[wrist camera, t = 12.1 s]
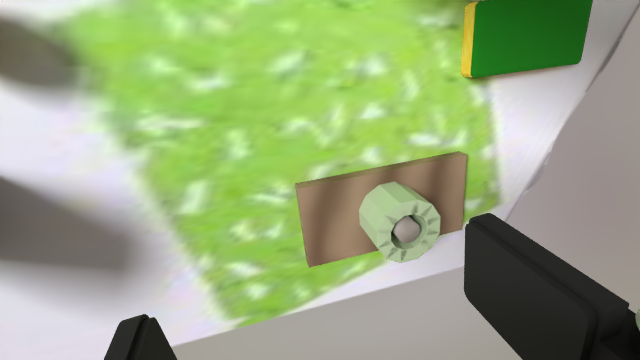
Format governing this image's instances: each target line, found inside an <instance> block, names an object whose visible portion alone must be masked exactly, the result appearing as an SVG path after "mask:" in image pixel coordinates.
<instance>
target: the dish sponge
mask: <svg viewBox="0 0 640 360" xmlns="http://www.w3.org/2000/svg"><path fill="white" fill-rule="evenodd" d="M592 1H593V0H484V1H479V2H473V3H469V4H468V5H467V6H466V7H465V19H464V35H463V50H462V65H461V74H462V76H463V77H473V78H477V77H484V76H491V75H499V74H506V73H513V72H521V71H528V70H535V69H543V68H550V67H557V66H565V65H572V64H578V63H579V62H580V61H581V57H582V52H583V47H584V42H585V37H586V32H587V27H588V21H589V16H590V11H591V6H592Z"/></svg>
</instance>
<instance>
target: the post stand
mask: <svg viewBox="0 0 640 360" xmlns="http://www.w3.org/2000/svg"><path fill="white" fill-rule="evenodd" d="M466 162H467V155H466V154H464V153H461V152H454V153H449V154H444V155H438V156H433V157H428V158H423V159H418V160H413V161H408V162H403V163H398V164H393V165H388V166H383V167H378V168H373V169H367V170H362V171H357V172H352V173H347V174H342V175H337V176H332V177H327V178H322V179H317V180H312V181H307V182H302V183H296V184H295V187H296V194H297V201H298V207H299V214H300V220H301V227H302V234H303V240H304V247H305V253H306V260H307V263H308V266H309V267H313V266H317V265H321V264H325V263H329V262H333V261H337V260H341V259H345V258H349V257H353V256H357V255H361V254H365V253H369V252H373V251H377V250H379V249H378V248H377V247H376V245H375V244H374V243H373V241H372V240H371V239H370V237H369V236H368V235H367V233H366V232H365V231H364V229H363V228H362V227H361V225H360V219H359V209H360V207H361V205H362V202H363V200H364V198H365V196H366V195H367V194H368V193H369V192H371V191H372V190H373V189H375V188H376V187H377V186H378V185H381V184H385V183H390V182H397V183H400V184H403V185H406V186H408V187H410V188H411V189H412V190H414V191H415V192H416V193H418V194H419V195H420V196H422V197H423V198H424V199H426V200H427V201H428V202H430V203H431V204H432V205H433V206H434V208H435V209H436V211H437V212H438V214H439V215H440V233H439V235H442V234H446V233H450V232H454V231H458V230H462V222H463V207H464V192H465V177H466ZM392 232H393V233H394V234H395V235H396V236H397V237H398V239H399V240H400V241H401V242H403V243H410V242H412V241H414V240H415V239H416V238H417V237H418V235H419V233H420V228H419V225H418V224H417V223H416V222H414V221H413V220H412V219H411V218H410V217H409V216H408V215H407V216H404V217H402V218H401V219H400V220H399V221H397V222H396V223H395V225H394V227H393V229H392Z"/></svg>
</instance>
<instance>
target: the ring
mask: <svg viewBox="0 0 640 360" xmlns="http://www.w3.org/2000/svg"><path fill="white" fill-rule="evenodd" d="M407 215H408V216H409V217H410V218H411V219H412V220H413V221H414V222H416V223H417V224H418V225H419V228H420V233H419V235H418V237H417V238H416V239H415V240H414V241H412V242H410V243H403V242H401V241H400V240H399V239H398V237H397V236H396V235H395V234H394V233H393V232H392V229H393V227H394V225H395V223H396V222H397V221H399V220H400V219H401V218H402V217H404V216H407ZM359 219H360V225H361V227H362V228H363V229H364V231H365V232H366V233H367V235H368V236H369V237H370V239H371V240H372V241H373V243H374V244H375V245H376V247H377V248H378V249H379V250H380V252H381V253H382V254H383V255H384V257H385V258H386V259H388V260H392V261H396V262H400V263H402V262H406V261H410V260H414V259H418V258H419V257H420V256H421V255H423V254H424V253H425V252H426V251H428V250H429V249H430V248H432V246H433V244H434V242H435V240H436V239H437V237H438V235H439V233H440V215H439V214H438V212H437V211H436V209H435V208H434V206H433V205H432V204H431V203H430V202H428V201H427V200H426V199H424V198H423V197H422V196H420V195H419V194H418V193H416V192H415V191H414V190H412V189H411V188H410V187H408V186H406V185H403V184H400V183H397V182H390V183H385V184H381V185H378V186H377V187H376V188H375V189H373V190H372V191H371V192H369V193H368V194H367V195H366V196H365V198H364V200H363V202H362V205H361V207H360V209H359Z"/></svg>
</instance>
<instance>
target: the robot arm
mask: <svg viewBox="0 0 640 360" xmlns="http://www.w3.org/2000/svg"><path fill="white" fill-rule="evenodd" d="M464 270H465V271H464V292H465V295H466V297H467V299H468V300H469V301H470V303H471V304H472V305H473V306H474V307H475V308H476V309H477V310H478V311H479V312H480V313H481V314H482V316H483V317H484V318H485V319H486V320H487V321H488V322H489V323H490V324H491V325H492V327H493V328H494V329H495V330H496V331H497V332H498V333H499V334H500V335H501V336H502V338H503V339H504V340H505V341H506V342H507V343H508V344H509V345H510V346H511V347H512V349H513V350H514V351H515V352H516V353H517V354H518V355H519V356H520V357H521V358H522V359H523V360H640V309H639V310H638V312H637V313H636V314H635V313H634V312H632V311H631V310H629V309H628V307H629V303H628V302H626V301H625V300H623V299H622V298H620V297H619V296H617V295H615V294H614V293H612V292H611V291H609V290H608V289H606V288H605V287H603V286H602V285H600V284H599V283H597V282H595V281H594V280H593V279H591V278H589V277H588V276H586V275H585V274H583V273H582V272H580V271H579V270H577V269H576V268H574V267H573V266H571V265H569V264H568V263H566V262H565V261H564V260H562V259H560V258H559V257H557V256H556V255H554V254H553V253H551V252H550V251H548V250H547V249H545V248H544V247H542V246H540V245H539V244H538V243H536V242H534V241H533V240H531V239H530V238H528V237H527V236H525V235H524V234H522V233H521V232H519V231H518V230H516V229H514V228H513V227H511V226H510V225H508V224H507V223H505V222H504V221H502V220H501V219H499V218H498V217H496V216H495V215H493V214H491V213H486V214H483V215H479V216H476V217H473V218H471V219H470V220H469V224H467V225H466V227H465V267H464ZM104 360H177V358H176V356H175V354H174V352H173V350H172V348H171V347H170V345H169V343H168V341H167V339H166V337H165V335H164V333H163V331H162V329H161V327H160V325H159V323H158V321H157V320H156V318H154V317H153V318H149V317H148V316H147V315H146V314H143V315H140V316H136V317H133V318H129V319H126V320H123V321H121V322H120V323H119V325H118V327H117V330H116V332H115V334H114V337H113V339H112V341H111V344H110V346H109V349H108V351H107V353H106V356H105V358H104Z"/></svg>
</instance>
